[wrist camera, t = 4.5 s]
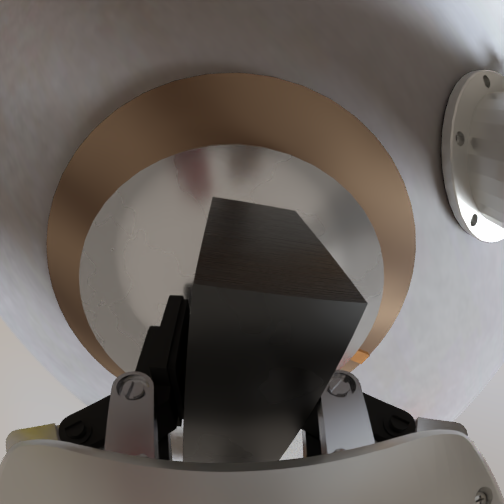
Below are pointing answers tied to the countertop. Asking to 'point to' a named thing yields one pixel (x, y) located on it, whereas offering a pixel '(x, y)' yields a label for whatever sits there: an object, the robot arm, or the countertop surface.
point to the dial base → (230, 132)
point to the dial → (236, 288)
